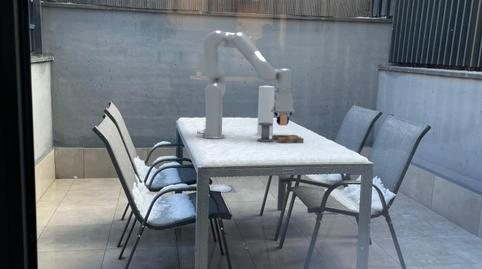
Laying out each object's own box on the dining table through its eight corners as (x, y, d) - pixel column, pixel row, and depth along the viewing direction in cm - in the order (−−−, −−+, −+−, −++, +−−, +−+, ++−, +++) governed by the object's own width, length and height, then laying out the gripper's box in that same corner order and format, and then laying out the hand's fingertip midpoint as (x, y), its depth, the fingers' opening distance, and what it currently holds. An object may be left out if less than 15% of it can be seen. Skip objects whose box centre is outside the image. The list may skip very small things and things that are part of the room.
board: (279, 143, 249) (279, 138, 249) (271, 139, 263) (272, 134, 262) (303, 142, 252) (303, 138, 252) (295, 139, 266) (295, 134, 265)
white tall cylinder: (273, 136, 273) (275, 86, 269) (257, 136, 273) (259, 85, 269) (272, 134, 282) (274, 85, 278) (257, 133, 282) (258, 85, 278)
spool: (259, 142, 249) (259, 124, 248) (255, 139, 258) (255, 122, 257) (275, 142, 251) (275, 124, 250) (270, 139, 260) (271, 122, 258)
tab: (280, 125, 253) (280, 114, 252) (278, 124, 257) (278, 114, 256) (287, 125, 254) (287, 114, 253) (284, 124, 258) (285, 114, 257)
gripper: (270, 91, 247) (269, 124, 250) (300, 91, 251) (299, 124, 253) (267, 90, 254) (266, 123, 257) (295, 90, 258) (294, 123, 261)
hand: (282, 123), depth 255 cm, fingers closed on tab, 4 cm apart
